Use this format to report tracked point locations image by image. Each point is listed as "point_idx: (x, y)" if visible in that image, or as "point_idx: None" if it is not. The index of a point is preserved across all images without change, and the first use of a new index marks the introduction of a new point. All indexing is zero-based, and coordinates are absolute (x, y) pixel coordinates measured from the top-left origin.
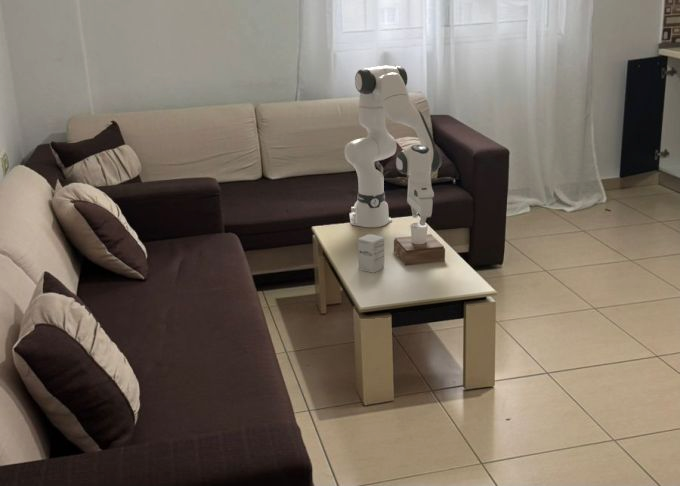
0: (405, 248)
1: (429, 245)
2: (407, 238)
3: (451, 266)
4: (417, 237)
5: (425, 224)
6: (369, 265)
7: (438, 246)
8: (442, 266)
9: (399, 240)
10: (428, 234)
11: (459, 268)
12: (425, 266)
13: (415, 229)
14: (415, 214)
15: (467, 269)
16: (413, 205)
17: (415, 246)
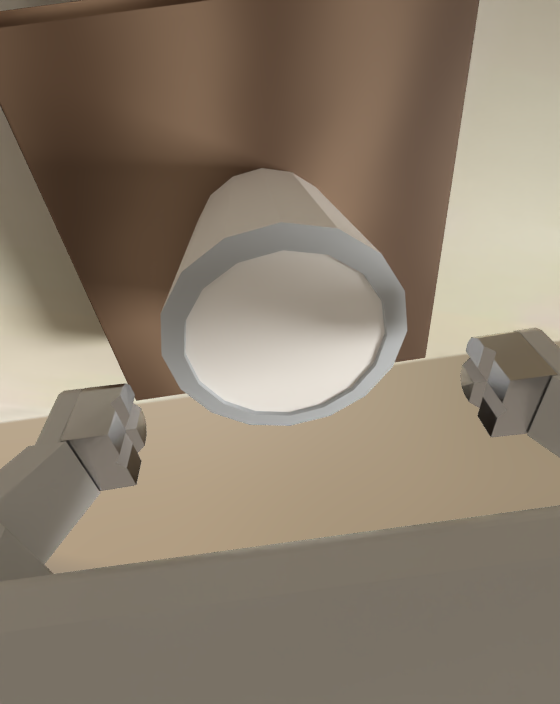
0: (41, 33)
1: (158, 313)
2: (397, 140)
3: (55, 358)
4: (188, 246)
5: (302, 410)
6: None
7: (133, 370)
8: (47, 313)
9: (363, 12)
10: (425, 340)
11: (27, 389)
12: (27, 204)
13: (180, 271)
14: (496, 399)
15: (18, 418)
16: (492, 653)
17: (127, 183)
